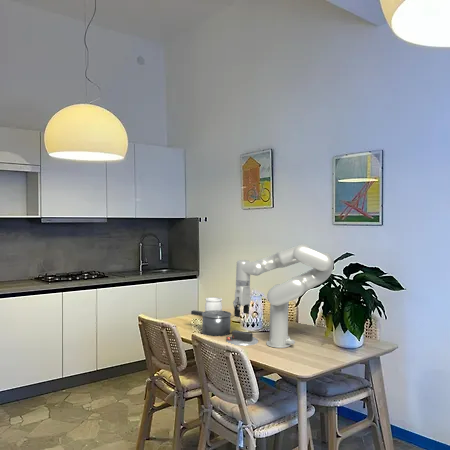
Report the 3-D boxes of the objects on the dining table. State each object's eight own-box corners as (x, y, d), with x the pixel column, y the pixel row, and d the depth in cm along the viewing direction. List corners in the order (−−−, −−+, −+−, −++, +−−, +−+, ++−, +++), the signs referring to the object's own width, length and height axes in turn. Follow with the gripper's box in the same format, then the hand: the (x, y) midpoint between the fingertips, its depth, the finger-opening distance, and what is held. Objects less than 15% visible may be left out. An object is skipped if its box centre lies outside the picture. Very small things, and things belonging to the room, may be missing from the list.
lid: (263, 340, 243) (263, 331, 243) (248, 348, 228) (248, 338, 228) (236, 336, 252) (236, 326, 252) (220, 343, 237) (220, 333, 237)
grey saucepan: (236, 331, 260) (236, 312, 260) (220, 338, 245) (221, 318, 245) (200, 325, 273) (200, 307, 273) (183, 331, 259) (183, 312, 259)
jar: (222, 320, 287) (223, 297, 286) (220, 324, 276) (221, 300, 276) (206, 319, 288) (206, 296, 287) (203, 323, 277) (204, 299, 277)
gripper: (241, 286, 230) (239, 319, 231) (256, 282, 245) (255, 313, 245) (228, 284, 234) (227, 316, 235) (244, 280, 249) (243, 311, 249)
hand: (241, 315), depth 240 cm, fingers open, 9 cm apart
